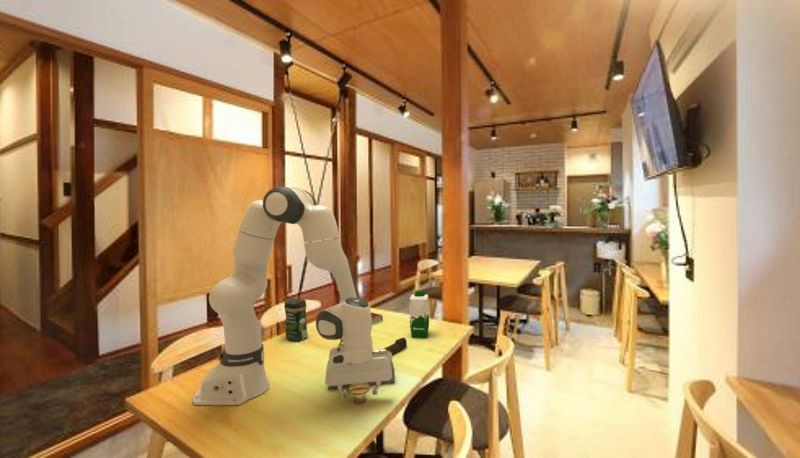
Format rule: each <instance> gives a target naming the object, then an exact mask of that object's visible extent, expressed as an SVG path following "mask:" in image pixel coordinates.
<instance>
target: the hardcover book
mask: <svg viewBox="0 0 800 458" xmlns="http://www.w3.org/2000/svg"><path fill="white" fill-rule="evenodd" d="M383 318H384V316H383V314H379V313H376V312H372V311H371V319H372V326H374V325H377V324H380V323H381V322H383V320H384V319H383Z"/></svg>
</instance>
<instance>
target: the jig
mask: <svg viewBox="0 0 800 458" xmlns="http://www.w3.org/2000/svg"><path fill="white" fill-rule="evenodd" d="M390 365H391V370H392V378H391V379H390V380H388V381H381V385H385V384H387V385H389V384H394V383H396V381H395V380H396V379H395V366H394V363H393V361H392V362H391V363H390ZM367 383H368V384H369V385H370V386H376V382H367ZM350 385H351V384H346V385H342V388H343V389H346V388H349V386H350ZM327 387H328V388H327V389H328V390H334V389H335V390H336V389H337V390H338V385H336V386H327Z"/></svg>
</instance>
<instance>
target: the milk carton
mask: <svg viewBox="0 0 800 458" xmlns="http://www.w3.org/2000/svg"><path fill="white" fill-rule="evenodd" d="M424 293H425V292H424V290H421V289H416V290H414V294H411V295H410V298H409V302H408V305H409V326H410V335H411V338H414V339H417V338H418V339H427V338H428V335H429V334H428V333H429V328H430V303H429V294H424Z"/></svg>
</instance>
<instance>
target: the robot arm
mask: <svg viewBox="0 0 800 458" xmlns="http://www.w3.org/2000/svg"><path fill="white" fill-rule="evenodd" d="M247 207H248V208H247V209H246V211H245V213H244V215H243V217H242V220H241V222H240V226H239V229H238V233H237V236H236V239H235V242H234V247H233V249H232V255H233V258H234V267H233V268H234V269H233V272H232V274H231V275H230V276H228V277H226V278H223V279H222V280H220V281H219V282H217V284H215V285H214V287H212V289H211V290H210V292H209V295H208V302H209V305H210V307H211V309H212V310H213V311H214V312H216V313H217V314H218V316H219V318H220V321H221V324H222V328H223V334H224V335H223V336H224V347H223V348H222V349H221V352H219V354H218V356H217V361H219V362H218V363H217V364H216V365H214V367H212V368H211V369H210V370H209V371H208V372H207V373H206V374H205V375H204V377H203V379H202V381H201V383H200V384H201V385H200V387H199V388H198V389H197V391H196V392H195V393H194V395H193V398H192V404H193V405H194V406H239V405H242V404H244V403H246V402H247V401H249V400H251V399H253V398H256V397H258V396H261V395H262V394H263V393H265V392H266V391H267V390H268V389H269V388H270V381H269V379H268V376H267V373H266V369H265V364H264V363H265V349H264V344H263V342H262V324H261V321H260V319H258V317H257V315H256V312H255V308H254V303H255V301H257V300H258V299H260V298H261V297H262V295H264V293H265V292H266V289H267V288H268V287H267V286H268V279H267V275H268V265H269V260H270V256H271V252H272V250H273V249H272V248H273V246H274V242H275V239H276V236H277V231H278V228H279V227H280V225H281V224H283V223H284V224H290V225H295V224H297V225H298V226H299V227H300V229H301V232H302V238H303V246H304V251H305V252H304V253H305V256H306V258H307V260H308V262H309V263H310V264H311V265H312V266H314V267H315V268H318V269H321V270H324V271H327V272H329V273H330V274H332V275H333V277H334V279H335V282H336V283H335V284H336V286H337V290H338V293H339V297H340V300H339V303H337V304H334V305H331V306H330V307H327V308H325V309H323V310H322V311H320V312H318V314H317V316H316V318H315V328H316V331H317V332H318V334H319V336H320V337H322V338H323V339H325V340H329V341H334V340H335V341H336V340H337V341H338V340H340V339H342V340H343V342H342V344H341V345H340V346H338V345H337V346H336V347H333V348H331V349H330V350H329V354H328V361H327V364H326V368H325V377H324V380H325V381H324V382H325V385H326V386H327V387H328V386H336V385H338V388H337V390H338V391H339V392H340V394H341V399H347V389H344V388H342V385H346V384H357V383H367V382H376V385H374V386H372V390H371V391H372V396H376V395H378V390H379V389H380V386H381V385H382V384H381V381H388V380H390V379H391V378H392V370H391V365H390V363H391V362H393V354H392V353H391V352H390V351H387V350H386V349H384V348H383V349H384V350H382V349H373V338H372V337H373V336H372V334H371V333H372V329H373V327H372V326H373V325H372V319H371V312H372V311H371V308H370V307H371V306H370V304H369V302H368V301H367V300H365V299H364V298H361V297H360V295H359V293H358V288H357V285H356V280H355V277H354V273H353V270H352V266H351V263H350V261H349V258H348V256H347V255H346V254H345V253H344V250H343V247H342V244H341V239H340V233H339V227H338V224H337V220H336V217H335V215H334V212H333V210H332V209H331V208H330V207H329V206H326V205H322V204H317V202H316V200H315V197H314V196H313V195H312V194H311V193H310V192H309V191H307V190H304V189H301V188H298V187H288V186H277V187H273V188H271V189H269V190H267V192H266V193H265V194H264V197H263V199H257V200H254V201H252V202H251V203H250V204H249V206H247Z"/></svg>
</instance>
